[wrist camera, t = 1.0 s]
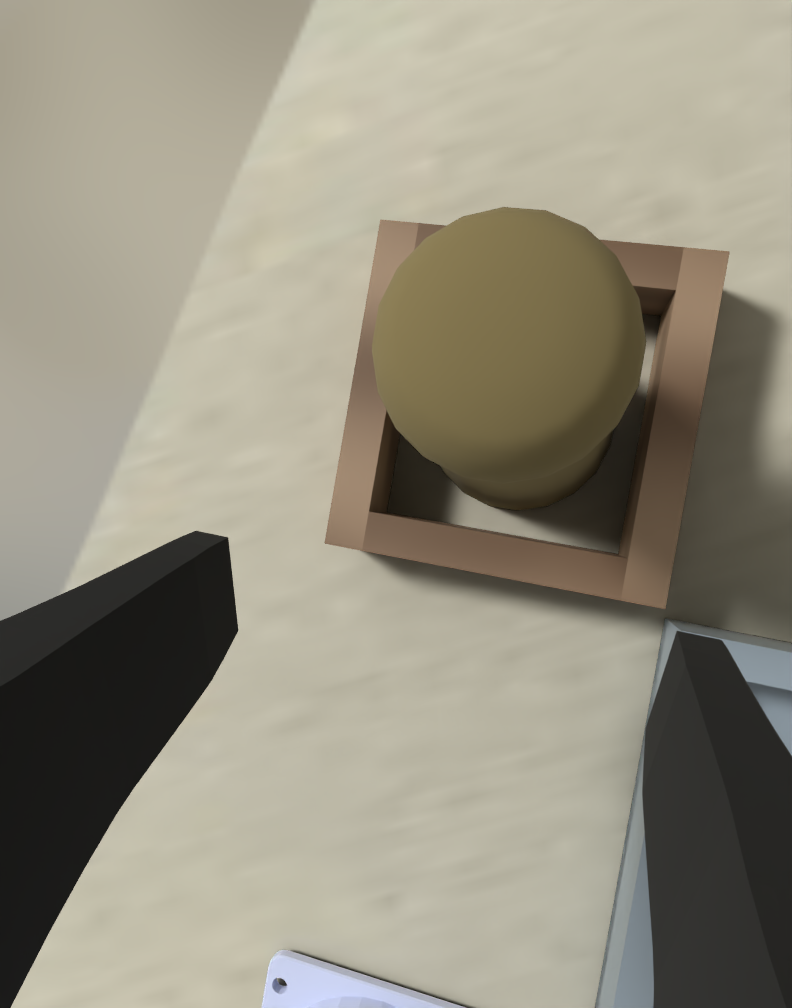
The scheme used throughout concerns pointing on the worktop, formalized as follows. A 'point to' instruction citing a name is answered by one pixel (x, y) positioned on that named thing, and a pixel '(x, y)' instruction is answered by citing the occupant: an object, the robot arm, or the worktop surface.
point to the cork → (510, 354)
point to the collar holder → (658, 464)
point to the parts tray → (629, 952)
